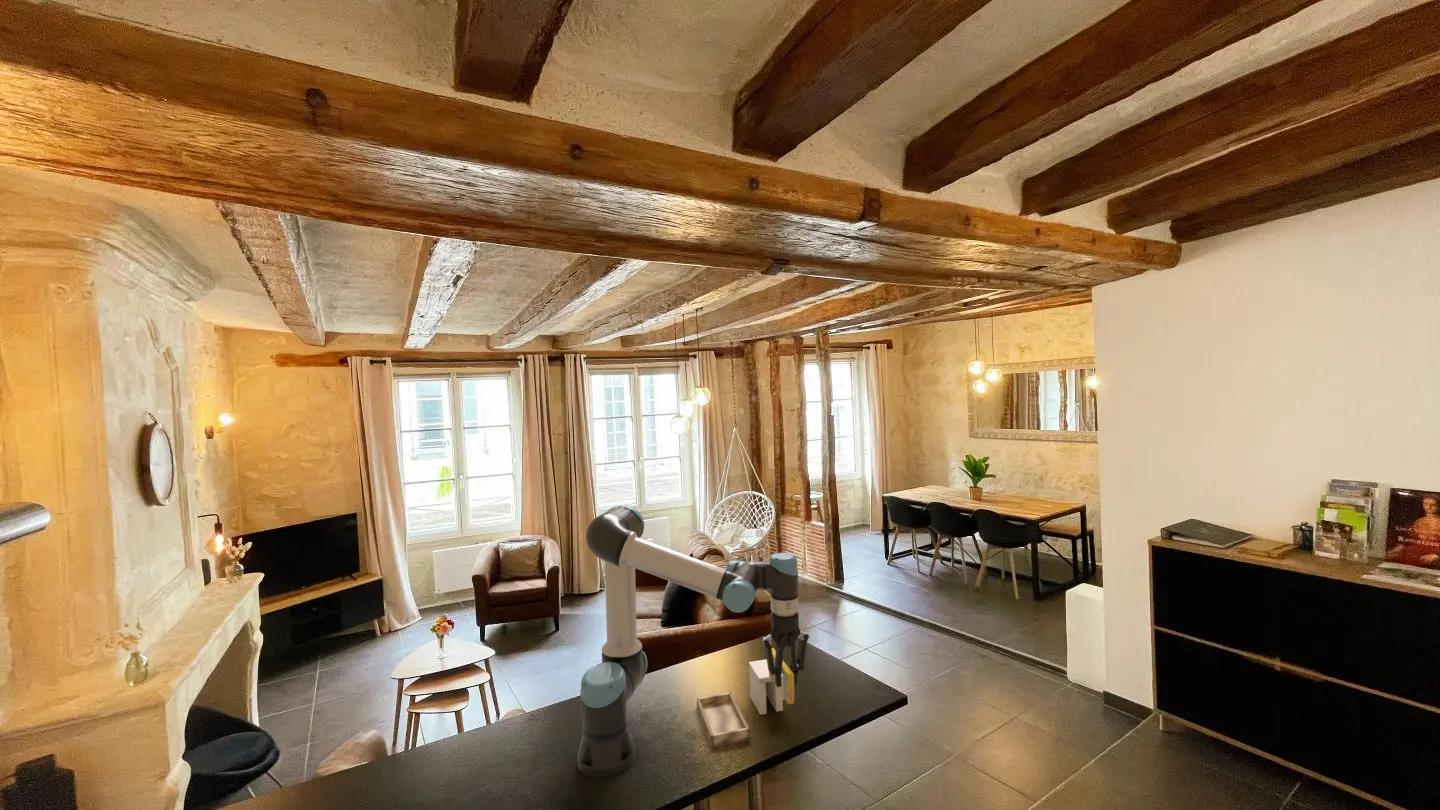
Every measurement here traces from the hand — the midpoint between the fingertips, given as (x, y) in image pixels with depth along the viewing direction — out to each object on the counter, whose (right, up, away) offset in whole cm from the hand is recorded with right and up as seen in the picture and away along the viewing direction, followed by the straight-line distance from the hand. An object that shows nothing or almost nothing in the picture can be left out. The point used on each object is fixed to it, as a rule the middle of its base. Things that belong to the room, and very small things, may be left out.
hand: (786, 696), depth 153 cm
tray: (-18, -13, +11) cm, 25 cm away
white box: (-4, -13, +19) cm, 23 cm away
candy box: (-1, 0, +4) cm, 4 cm away
